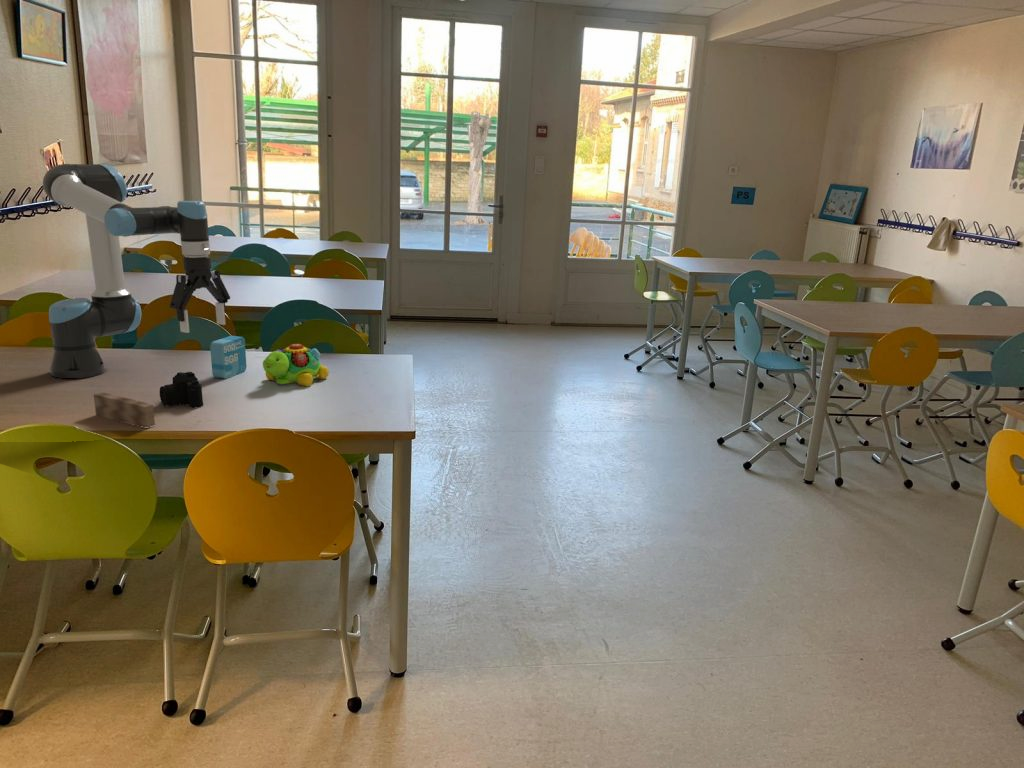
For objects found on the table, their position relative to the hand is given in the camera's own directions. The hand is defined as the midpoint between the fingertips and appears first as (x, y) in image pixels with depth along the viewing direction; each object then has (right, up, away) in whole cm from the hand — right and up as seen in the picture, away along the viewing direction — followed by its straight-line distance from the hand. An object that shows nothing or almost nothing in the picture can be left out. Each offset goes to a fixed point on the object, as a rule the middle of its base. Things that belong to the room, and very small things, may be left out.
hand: (203, 328), depth 221 cm
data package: (-2, -14, +25) cm, 28 cm away
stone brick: (-13, -26, -20) cm, 36 cm away
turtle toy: (+20, -16, +21) cm, 33 cm away
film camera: (-5, -22, -4) cm, 23 cm away
